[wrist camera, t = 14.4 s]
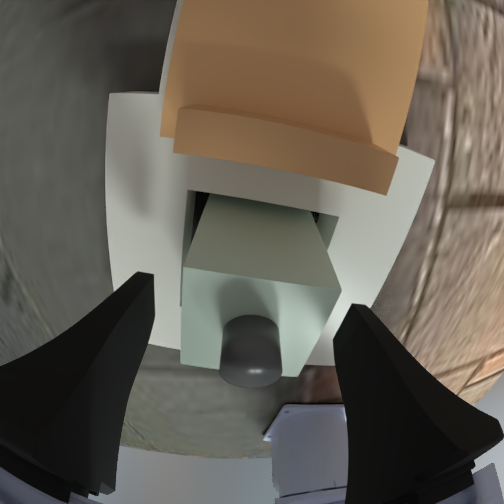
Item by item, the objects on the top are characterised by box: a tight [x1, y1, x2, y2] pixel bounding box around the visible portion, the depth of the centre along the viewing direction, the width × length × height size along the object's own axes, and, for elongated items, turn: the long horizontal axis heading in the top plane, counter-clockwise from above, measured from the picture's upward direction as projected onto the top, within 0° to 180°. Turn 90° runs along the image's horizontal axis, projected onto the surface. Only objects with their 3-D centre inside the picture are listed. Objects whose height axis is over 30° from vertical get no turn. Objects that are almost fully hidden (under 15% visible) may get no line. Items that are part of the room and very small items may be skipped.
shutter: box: [160, 0, 429, 196], centre depth 6 cm, size 8×8×3 cm
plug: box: [181, 193, 342, 388], centre depth 11 cm, size 4×4×8 cm
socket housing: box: [105, 0, 435, 366], centre depth 12 cm, size 19×13×2 cm
